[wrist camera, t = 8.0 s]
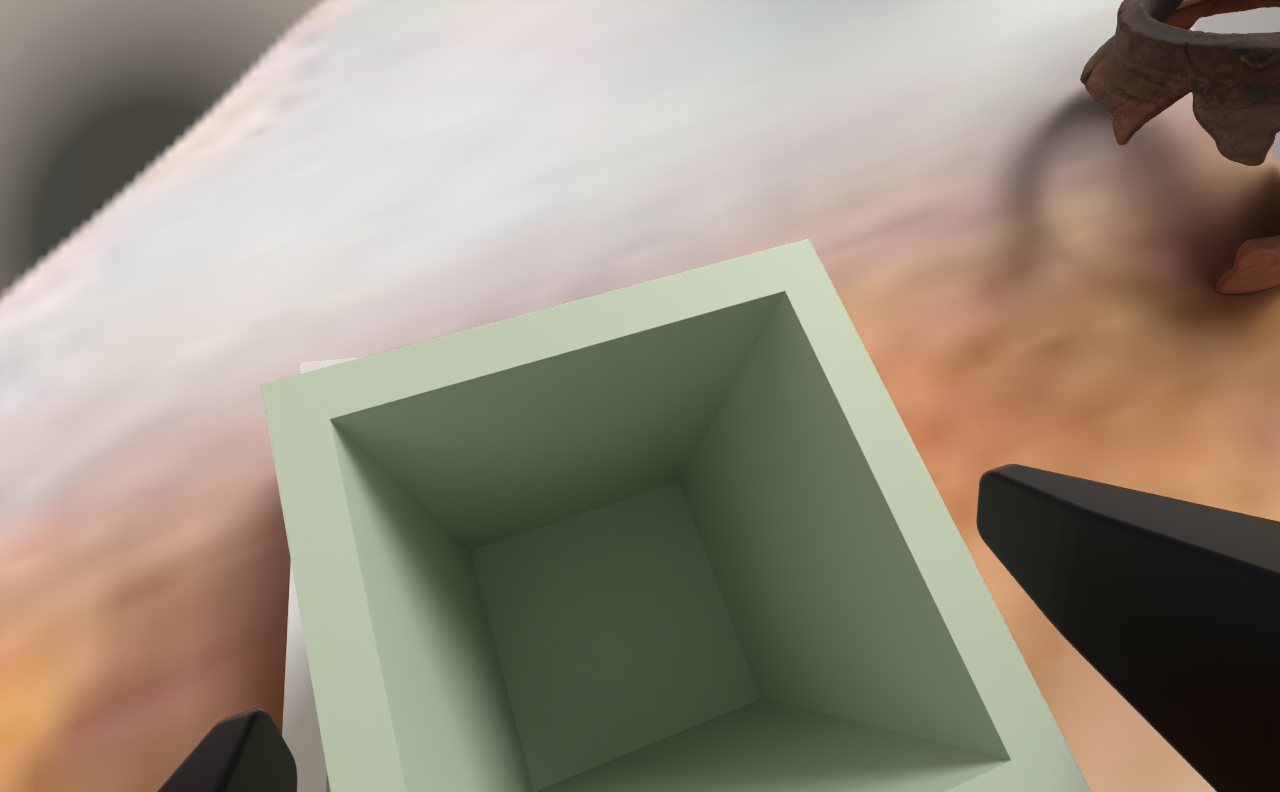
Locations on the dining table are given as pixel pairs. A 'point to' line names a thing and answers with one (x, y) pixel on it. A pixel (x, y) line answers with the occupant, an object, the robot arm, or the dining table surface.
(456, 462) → the green crate
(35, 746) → the dining table surface
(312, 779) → the grey crate
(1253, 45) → the pottery mug
